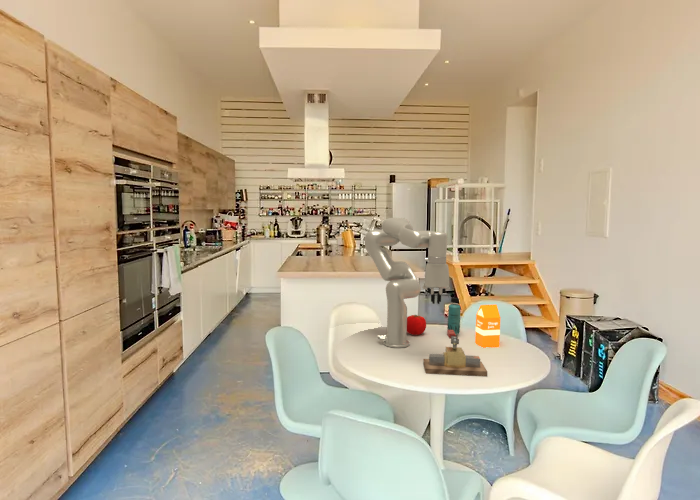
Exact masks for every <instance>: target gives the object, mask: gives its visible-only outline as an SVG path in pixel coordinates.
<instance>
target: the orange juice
mask: <svg viewBox="0 0 700 500" xmlns="http://www.w3.org/2000/svg"><path fill="white" fill-rule="evenodd" d="M501 318H502V317H501V316H500V311H499V309H498V304H480V306H479V308H478V310H477V312H476V314H475V335H474V337H475V338H474V339H475V341H474V344H475V343H476V344H475V345H477V344H478V345H477V346H478V347H480V346H481V347H480V348H482V347H483V348H482V349H485V348H486V347H491V348H500V339H501V337H500V335H501Z"/></svg>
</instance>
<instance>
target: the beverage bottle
mask: <svg viewBox="0 0 700 500" xmlns="http://www.w3.org/2000/svg"><path fill="white" fill-rule="evenodd" d="M450 302H451V303H450V304H449V305H448V312H447V313H448V314H447V324H446V325H447V326H446V327H447V329H446V330H454V332H455V334H456V335H459V334H460V333H461V310H462V309H461V305H460V304H459V302H460V299H459V298H458V297H451V299H450Z"/></svg>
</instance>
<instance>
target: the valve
mask: <svg viewBox="0 0 700 500" xmlns="http://www.w3.org/2000/svg"><path fill="white" fill-rule="evenodd" d="M428 354H429V355H428V359H429V364H430V365H435V366H447V367H453V368H463V367H478V368H480V361H481V358H480V356H479V355H466V354H465V352H464V349H463V348H462V347H460V346H459V347H458V344H457V345H455V344H452V346H445V351H444V352H443V353H440V354H439V353H428Z"/></svg>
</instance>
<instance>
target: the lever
mask: <svg viewBox="0 0 700 500" xmlns="http://www.w3.org/2000/svg"><path fill="white" fill-rule="evenodd" d="M446 330H447V329H446ZM446 335H447V336H448V339H450V344H452V345H453V344H455V345H457V346H458V345H460V338H458V336H456V335H457V334H455V332H454V330H447V331H446Z"/></svg>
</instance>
